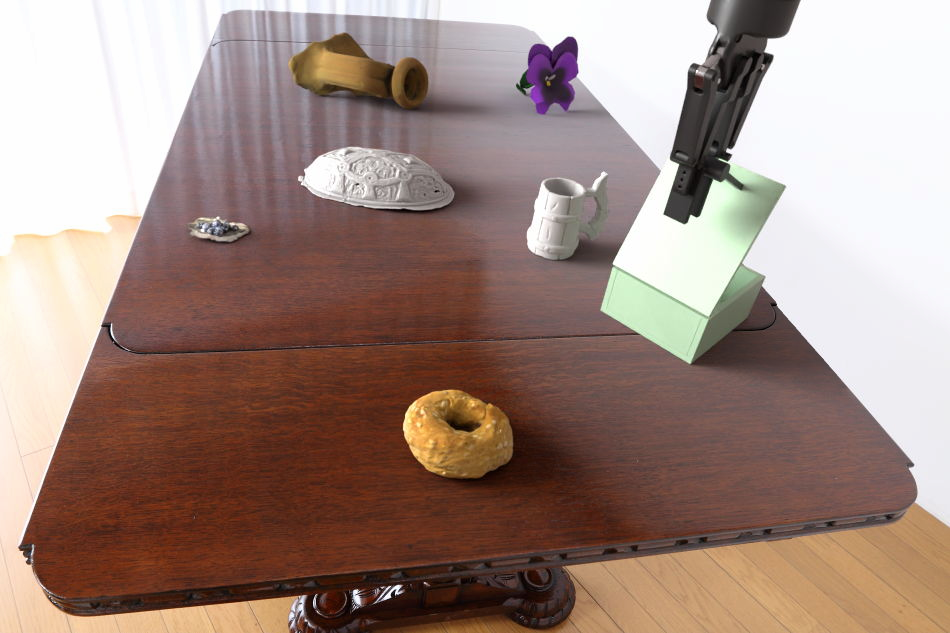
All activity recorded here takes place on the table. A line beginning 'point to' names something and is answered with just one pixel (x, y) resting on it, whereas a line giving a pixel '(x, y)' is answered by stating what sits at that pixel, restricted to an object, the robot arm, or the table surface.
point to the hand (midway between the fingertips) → (681, 214)
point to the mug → (565, 216)
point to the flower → (551, 74)
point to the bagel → (457, 434)
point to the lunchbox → (679, 312)
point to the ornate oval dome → (376, 179)
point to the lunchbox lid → (699, 234)
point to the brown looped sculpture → (358, 72)
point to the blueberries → (217, 229)
